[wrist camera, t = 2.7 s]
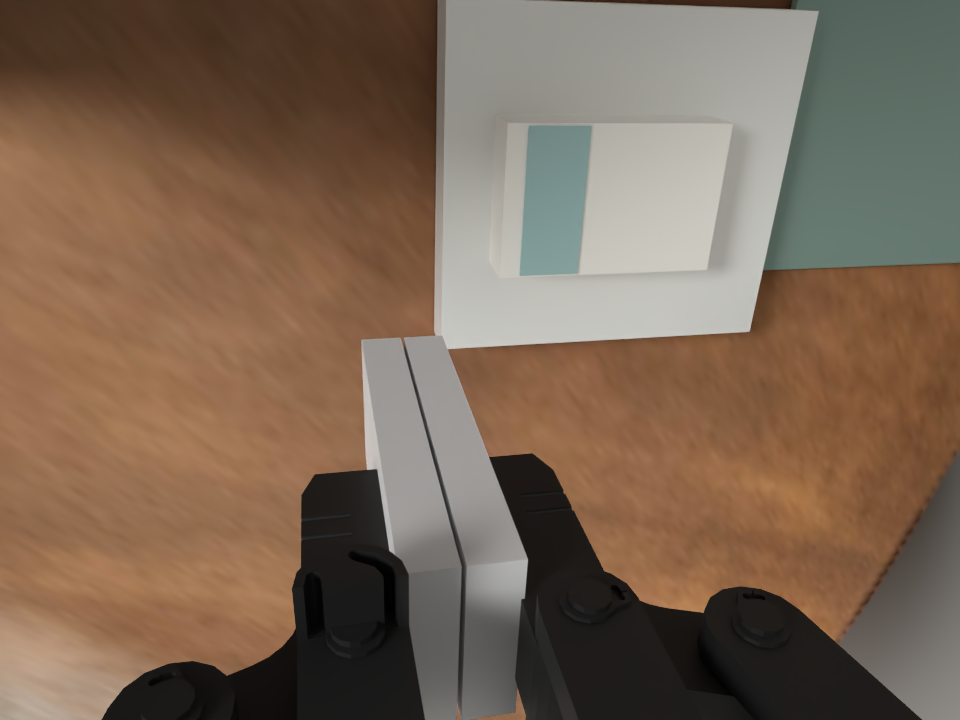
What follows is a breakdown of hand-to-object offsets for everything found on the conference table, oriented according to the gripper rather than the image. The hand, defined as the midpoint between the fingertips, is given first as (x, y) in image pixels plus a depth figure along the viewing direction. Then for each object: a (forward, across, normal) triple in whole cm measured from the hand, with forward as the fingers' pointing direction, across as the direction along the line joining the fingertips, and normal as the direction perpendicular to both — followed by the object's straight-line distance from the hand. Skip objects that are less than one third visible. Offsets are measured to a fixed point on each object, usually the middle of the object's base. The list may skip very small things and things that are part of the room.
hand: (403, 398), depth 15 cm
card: (+16, +10, 0) cm, 19 cm away
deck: (+18, +11, 0) cm, 21 cm away
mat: (+18, +26, +2) cm, 32 cm away
